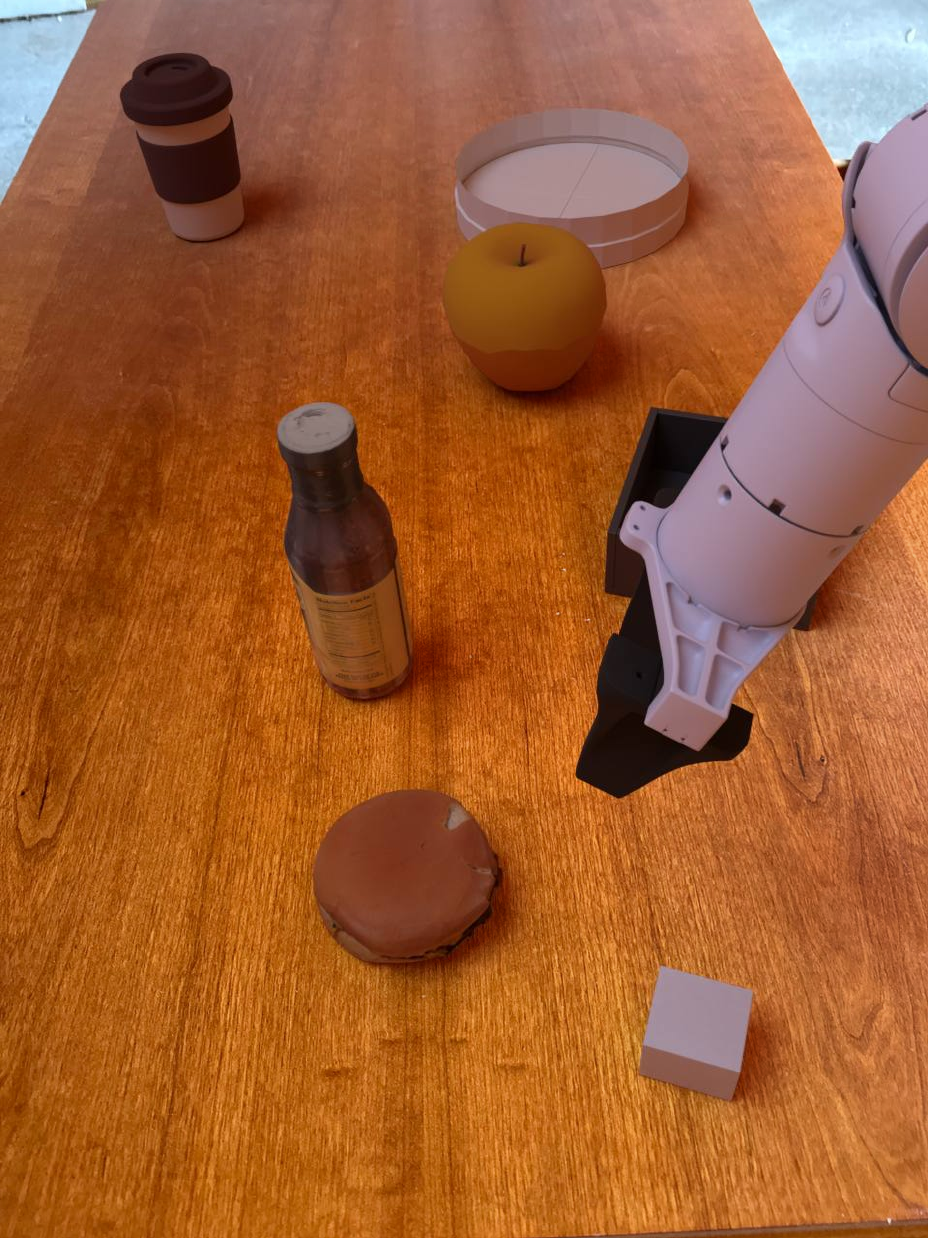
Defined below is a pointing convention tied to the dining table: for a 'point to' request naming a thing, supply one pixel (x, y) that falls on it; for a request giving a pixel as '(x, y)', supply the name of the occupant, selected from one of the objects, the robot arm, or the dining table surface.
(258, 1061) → the dining table surface
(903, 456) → the robot arm
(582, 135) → the dish
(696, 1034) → the cube
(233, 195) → the coffee cup
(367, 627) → the sauce bottle
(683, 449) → the bin
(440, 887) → the chocolate glazed sandwich cookie
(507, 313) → the apple
